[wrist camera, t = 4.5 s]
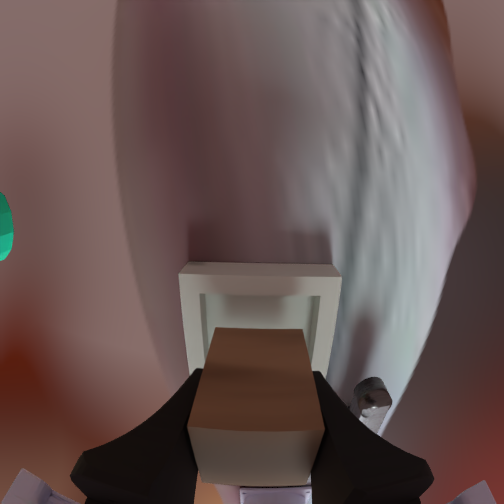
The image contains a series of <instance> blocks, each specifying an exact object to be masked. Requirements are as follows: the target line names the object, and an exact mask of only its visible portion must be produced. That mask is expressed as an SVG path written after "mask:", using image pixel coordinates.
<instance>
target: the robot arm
mask: <svg viewBox="0 0 504 504" xmlns="http://www.w3.org/2000/svg"><path fill="white" fill-rule="evenodd" d="M202 371H203V368H196V369H195V370H194V371H193V372H192V374H191V375H190V376H189V378H188V379H187V380H186V381H185V383H184V384H183V385H182V386H181V387H180V388H179V390H178V391H177V392H176V393H175V394H174V395H173V396H172V397H171V398H170V399H169V400H168V401H167V402H166V403H165V404H164V405H163V406H162V407H161V408H160V409H159V410H158V411H157V412H156V413H154V414H153V415H152V416H151V417H150V418H148V419H147V420H146V421H144V422H143V423H142V424H140V425H139V426H137V427H136V428H134V429H133V430H131V431H130V432H128V433H126V434H125V435H123V436H121V437H119V438H117V439H115V440H113V441H111V442H108V443H106V444H104V445H101V446H99V447H96V448H93V449H90V450H87V451H84V452H83V453H82V455H81V456H80V457H79V459H78V461H77V463H76V465H75V466H74V469H73V470H72V472H71V474H70V477H71V480H72V481H73V483H74V484H75V485H76V486H77V487H78V488H79V489H80V490H81V491H82V492H83V493H84V494H85V495H86V496H87V499H86V501H85V504H194V497H195V489H196V481H197V474H198V466H197V463H196V459H195V456H194V452H193V448H192V444H191V440H190V436H189V432H188V428H187V424H188V421H189V417H190V414H191V410H192V406H193V403H194V399H195V396H196V392H197V389H198V385H199V382H200V378H201V375H202ZM312 372H313V377H314V381H315V386H316V390H317V395H318V399H319V404H320V409H321V413H322V418H323V423H324V428H325V430H324V434H323V437H322V440H321V443H320V446H319V449H318V452H317V455H316V458H315V461H314V464H313V467H312V469H311V486H308V487H293V488H240V504H307V502H308V500H309V498H310V496H311V494H312V504H421V501H420V499H419V497H420V496H421V495H422V494H423V493H424V492H425V491H426V490H427V489H428V488H429V486H430V485H431V484H432V483H433V481H434V477H433V474H432V472H431V469H430V467H429V465H428V464H427V462H426V460H424V459H422V458H419V457H417V456H414V455H412V454H410V453H407V452H405V451H403V450H401V449H400V448H398V447H396V446H393V445H392V444H391V443H389V442H388V441H386V440H384V439H383V438H381V437H380V436H379V435H377V434H376V433H374V432H373V431H372V430H371V429H369V428H368V427H367V426H366V425H365V424H364V423H362V422H361V421H360V420H359V419H358V418H357V417H356V416H355V415H354V414H353V413H352V412H351V411H350V410H349V409H348V407H347V406H346V405H345V404H344V403H343V402H342V400H341V399H340V398H339V397H338V396H337V394H336V393H335V392H334V390H333V389H332V388H331V386H330V385H329V384H328V382H327V381H326V379H325V378H324V376H323V375H322V373H321V372H320V371H312ZM2 504H80V503H78V502H76V501H73V500H71V499H69V498H67V497H65V496H63V495H61V494H59V493H57V492H55V491H54V490H52V489H51V487H50V486H49V485H48V484H47V483H45V482H44V481H43V480H41V479H40V478H38V477H37V476H35V475H33V474H31V473H30V472H28V471H27V470H25V469H21V471H20V472H19V474H18V476H17V477H16V479H15V480H14V482H13V484H12V486H11V487H10V489H9V490H8V492H7V494H6V496H5V497H4V499H3V501H2ZM447 504H496V502H495V500H494V498H493V496H492V494H491V492H490V490H489V488H488V486H487V484H486V482H485V481H482V482H480V483H478V484H476V485H474V486H472V487H471V488H469V489H467V490H465V491H464V492H462V493H461V494H459V495H458V496H457V497H456V498H455V499H454V500H453V501H451V502H449V503H447Z"/></svg>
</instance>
